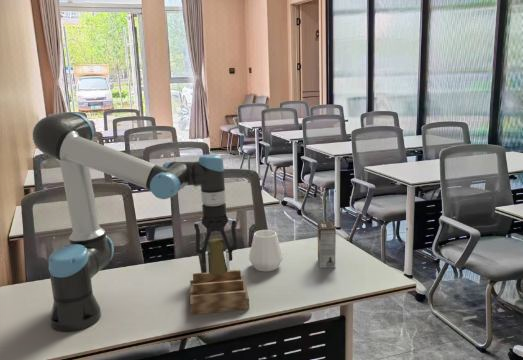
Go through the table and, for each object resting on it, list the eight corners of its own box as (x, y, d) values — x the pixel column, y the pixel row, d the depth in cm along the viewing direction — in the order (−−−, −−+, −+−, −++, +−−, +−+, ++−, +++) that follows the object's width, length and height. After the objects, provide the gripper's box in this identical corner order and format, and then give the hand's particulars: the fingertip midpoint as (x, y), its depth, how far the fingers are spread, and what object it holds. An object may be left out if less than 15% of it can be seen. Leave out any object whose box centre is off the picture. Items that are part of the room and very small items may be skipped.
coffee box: (317, 259, 199) (317, 221, 195) (333, 258, 199) (333, 221, 195) (319, 268, 190) (319, 229, 186) (336, 267, 190) (336, 228, 186)
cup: (262, 257, 202) (261, 225, 199) (289, 264, 194) (288, 231, 191) (242, 268, 192) (240, 235, 188) (270, 276, 184) (269, 241, 181)
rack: (191, 314, 157) (189, 296, 156) (191, 290, 175) (189, 273, 173) (249, 308, 160) (248, 291, 158) (243, 285, 177) (243, 269, 176)
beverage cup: (215, 283, 179) (211, 232, 175) (196, 282, 181) (192, 231, 176) (220, 275, 186) (217, 225, 182) (202, 274, 188) (199, 225, 183)
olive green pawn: (219, 276, 156) (217, 244, 154) (205, 272, 160) (202, 241, 157) (230, 269, 161) (229, 238, 159) (216, 266, 165) (214, 235, 162)
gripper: (183, 208, 150) (188, 278, 156) (244, 204, 153) (247, 272, 158) (183, 202, 158) (189, 268, 163) (242, 197, 160) (245, 263, 165)
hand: (218, 270), depth 160 cm, fingers closed on olive green pawn, 6 cm apart
